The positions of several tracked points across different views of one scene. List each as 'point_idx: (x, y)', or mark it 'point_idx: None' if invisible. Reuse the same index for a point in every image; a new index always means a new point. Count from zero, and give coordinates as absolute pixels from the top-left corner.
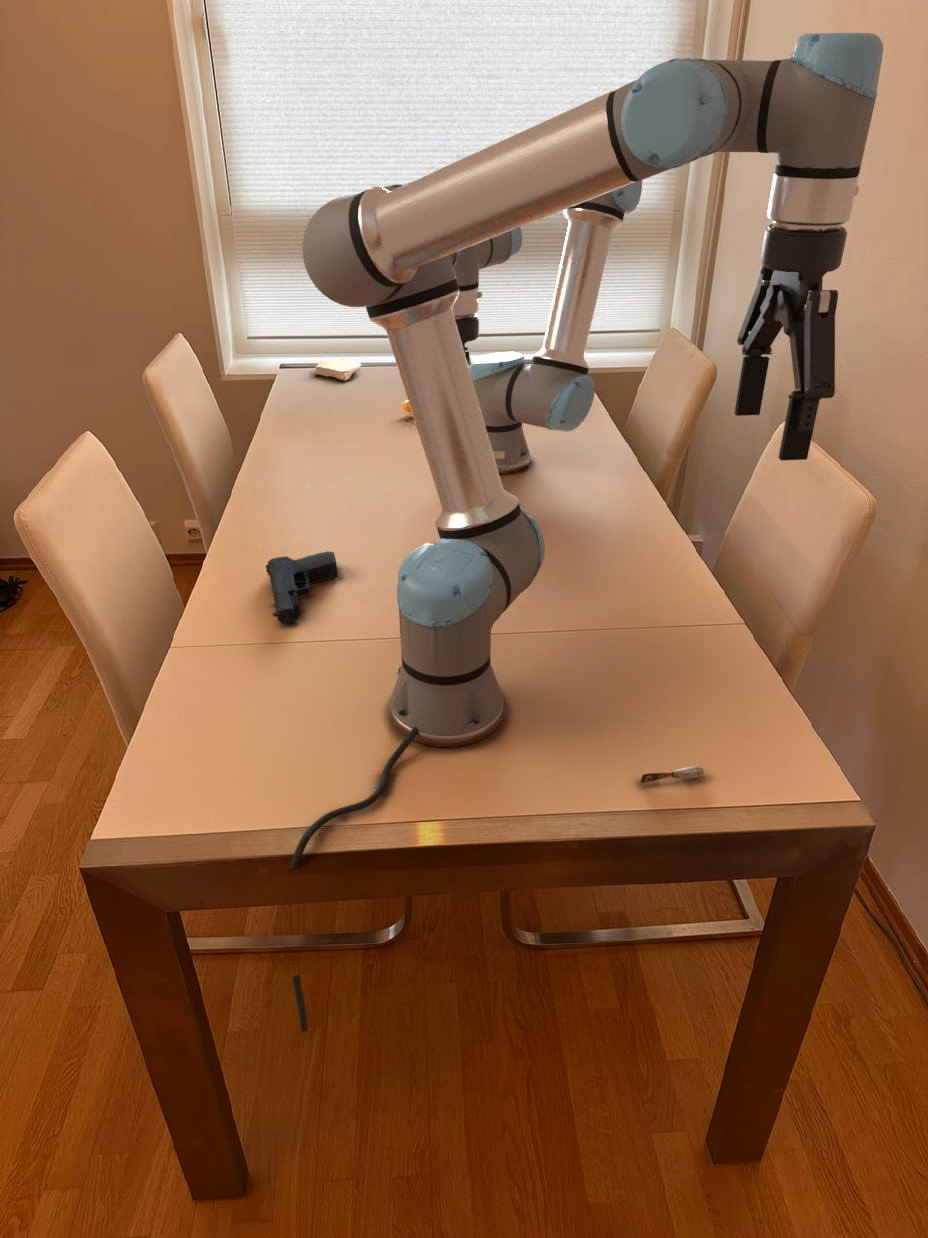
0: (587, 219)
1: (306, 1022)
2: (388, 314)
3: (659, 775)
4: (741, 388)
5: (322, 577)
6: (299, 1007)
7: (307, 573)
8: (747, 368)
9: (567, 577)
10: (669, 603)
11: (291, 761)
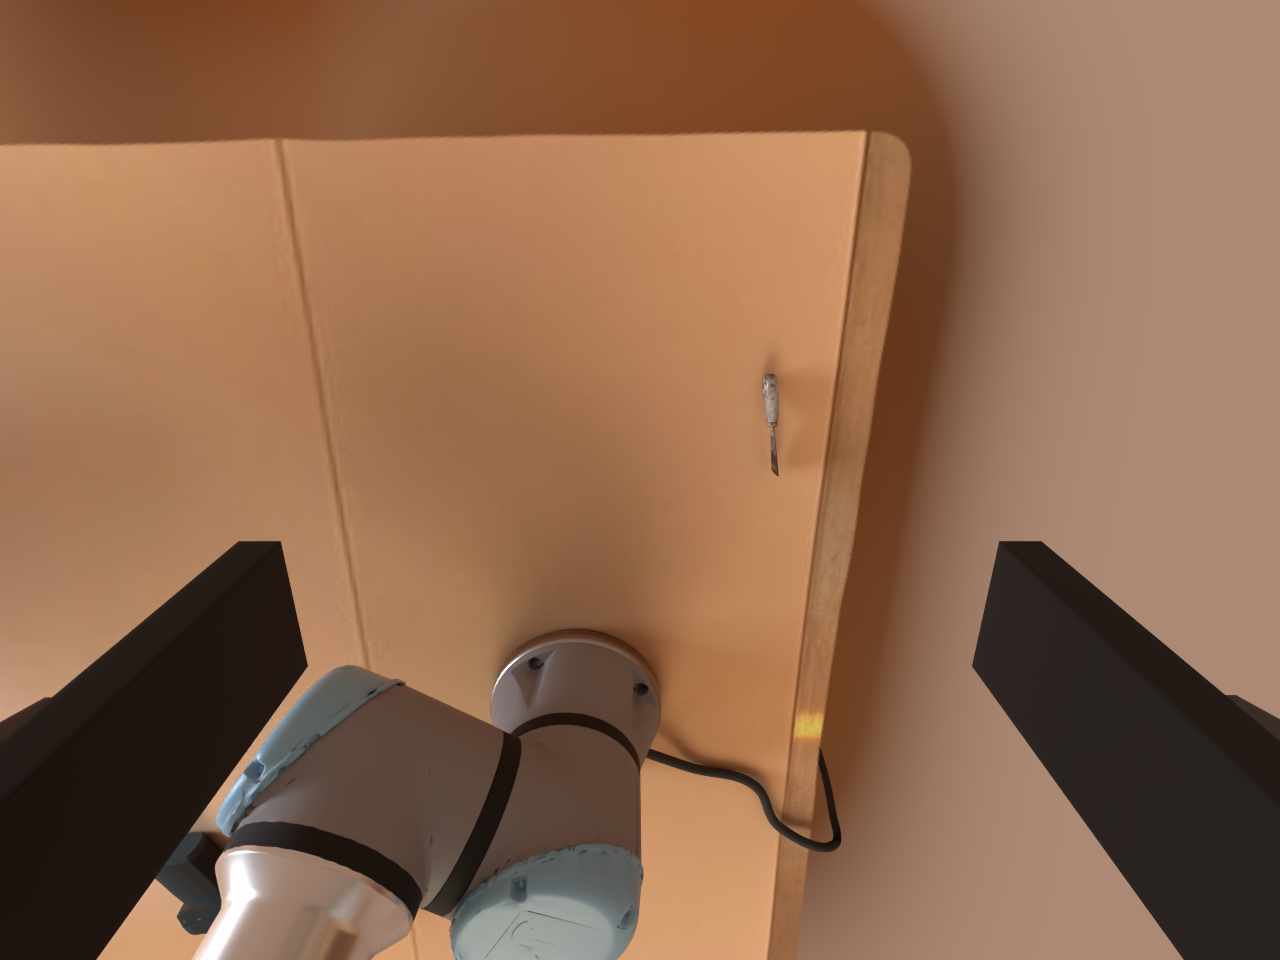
0: None
1: None
2: None
3: (773, 447)
4: (210, 792)
5: (218, 856)
6: None
7: None
8: (94, 926)
9: (124, 467)
10: (204, 271)
11: (665, 855)
